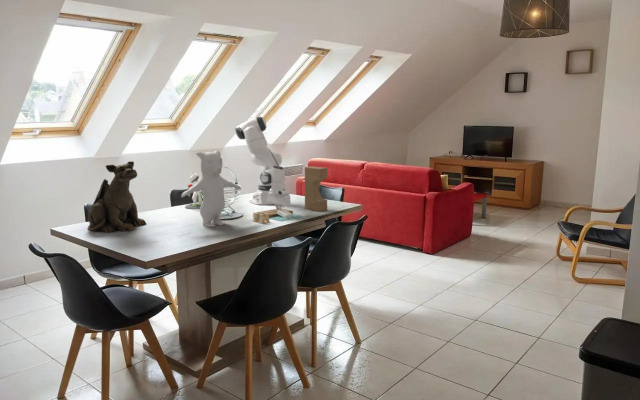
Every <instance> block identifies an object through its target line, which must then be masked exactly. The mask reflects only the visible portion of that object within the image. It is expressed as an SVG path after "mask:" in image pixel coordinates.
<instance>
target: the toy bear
mask: <svg viewBox="0 0 640 400" xmlns="http://www.w3.org/2000/svg"><path fill="white" fill-rule="evenodd" d="M195 155H196V156H197V157H199V158H200V172H201V176H200V178H198V180H197V182H196V183H195V184H194V183H193V184H194V186H192V187H190V188H189V189H188V188H187V190H185V191H183V192H182V193H181V195H180V197H181V198H184V197H186V196H188V198H190V197H191V196H192V195H191V194H194V192H196V191H200V190H201V195H202V201H203V202H202V204H201V207H200V209H199V214H200V217H201V218H202V220H203V221H202V226H204V227H205V228H215V227H216V226H224V225H226V222H225V221H222V220H221V215H222V212H223V211H224V210H225V207H226V201H225V191H224V190H225V188H234V189H235V190H237V191H239V190H242V187H241V186H240V185H238V184H236V183H233V182H232V181H229V180H227V179H226V178H224V177H223V176H221V174H222V169H223V158H222V157H221V156H222V155H221V151H220V150H215V151H213V152H212V151H207V152H202V151H196V152H195Z"/></svg>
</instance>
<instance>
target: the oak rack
mask: <svg viewBox="0 0 640 400" xmlns="http://www.w3.org/2000/svg"><path fill="white" fill-rule="evenodd" d="M257 212H258V213H255V212H252V218H253V219H252V222H253V223H258V224H260V225H262V224H263V225H264V224H268V223H271V221H270V219H269V214H267V213H263V212H261V211H257Z"/></svg>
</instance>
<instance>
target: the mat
mask: <svg viewBox="0 0 640 400" xmlns="http://www.w3.org/2000/svg"><path fill="white" fill-rule="evenodd" d="M304 217H305V216H304V215H300V214H295V213H293V216H292V217H289V218H284V217H282V216H277V217H271V218H269V220H273V221H276V222H277V221H278V222H284V221H290V220H294V219H300V218H304Z"/></svg>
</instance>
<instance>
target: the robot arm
mask: <svg viewBox="0 0 640 400" xmlns="http://www.w3.org/2000/svg"><path fill="white" fill-rule="evenodd" d="M234 129H235V131H234V132H235V135H236V137H237V138H238V139H240V140H245V142H246V145H247V148H248V150H249V152H250V153H251V154H252V155H251V161H252V164H253V165H256V166H259V167H264V169H263V171H261V173H260V174H259V185H257V187H258V188H257V190H256V191H255V192H254V193H253V194H252V199H251V200H249V202H250V203H252V204H255V205H259V206H261V205H262V206H264V205H265V206H269V205H274V206H275V209H276V211H279V210H281V208H282V209H283V207H290V206H291V191H290V190H289V189H288V188H286V184H285V181H286V174H285V173H286V172H285V169H284V167H283V166H281V164H282V161H283V157H282V155H281V154H280V153H278V152H275V151H272V150H271V149H270V148H269V147H268V141H267V139H266V137H265V135H264V132H265V131H266V129H267V122H266V120H265V119H264V118H263V117H262V116H257V117H255V118H252V119H249V120H247V121H245V122H242V123H241V124H238V125H237V126H235V128H234Z"/></svg>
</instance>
